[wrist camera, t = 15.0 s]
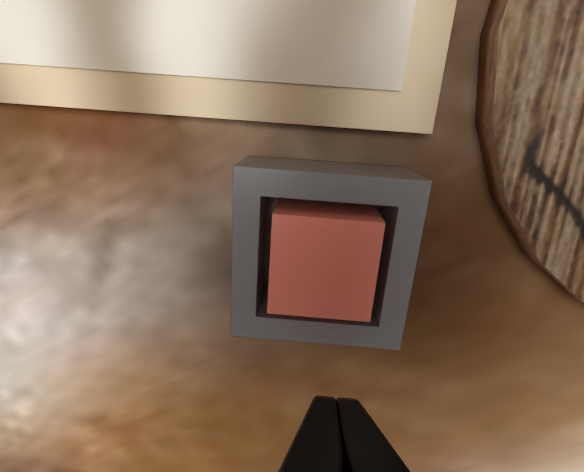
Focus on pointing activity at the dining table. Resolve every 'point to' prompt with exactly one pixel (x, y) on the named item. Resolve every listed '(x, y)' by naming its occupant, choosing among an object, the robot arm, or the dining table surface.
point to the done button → (324, 259)
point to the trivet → (536, 129)
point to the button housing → (336, 188)
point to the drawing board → (232, 59)
